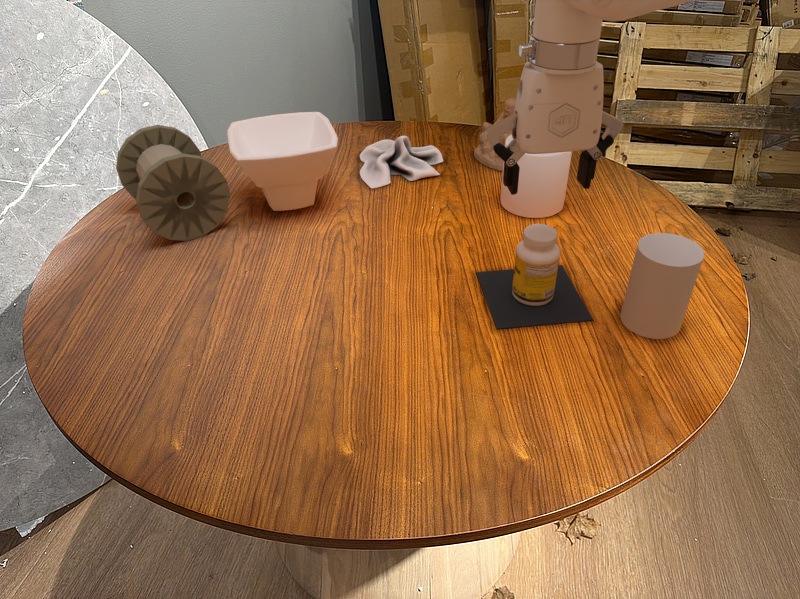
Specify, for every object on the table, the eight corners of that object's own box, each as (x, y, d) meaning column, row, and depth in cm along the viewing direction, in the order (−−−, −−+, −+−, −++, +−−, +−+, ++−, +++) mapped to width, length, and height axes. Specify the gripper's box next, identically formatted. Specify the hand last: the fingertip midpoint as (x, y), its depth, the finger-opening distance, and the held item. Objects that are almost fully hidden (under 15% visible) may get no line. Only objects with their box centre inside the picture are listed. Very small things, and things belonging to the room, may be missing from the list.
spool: (130, 211, 117) (105, 136, 108) (207, 190, 123) (190, 117, 114) (152, 251, 105) (127, 170, 96) (236, 225, 112) (219, 147, 102)
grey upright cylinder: (693, 324, 87) (717, 252, 79) (655, 346, 83) (677, 274, 76) (645, 296, 92) (664, 226, 85) (608, 316, 89) (624, 245, 81)
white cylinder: (522, 182, 122) (528, 124, 115) (575, 200, 116) (585, 139, 109) (488, 205, 115) (492, 144, 108) (542, 225, 109) (550, 162, 102)
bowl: (330, 174, 127) (323, 108, 119) (349, 219, 112) (343, 147, 104) (238, 187, 123) (224, 120, 115) (246, 236, 109) (231, 162, 100)
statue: (556, 110, 124) (520, 104, 119) (533, 176, 131) (498, 174, 125) (518, 93, 133) (483, 87, 127) (498, 156, 139) (464, 153, 134)
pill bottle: (514, 280, 96) (520, 218, 89) (554, 285, 94) (564, 223, 88) (508, 304, 91) (515, 240, 84) (551, 310, 90) (561, 246, 83)
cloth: (367, 142, 140) (365, 115, 136) (448, 146, 137) (449, 119, 133) (342, 187, 123) (340, 158, 119) (435, 193, 120) (435, 163, 116)
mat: (562, 265, 99) (562, 264, 99) (593, 320, 88) (593, 319, 88) (476, 273, 98) (476, 272, 98) (496, 329, 87) (496, 328, 87)
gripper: (497, 66, 68) (489, 205, 78) (650, 56, 69) (621, 195, 79) (483, 48, 74) (476, 179, 84) (623, 39, 75) (600, 170, 85)
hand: (547, 187), depth 81 cm, fingers open, 9 cm apart
